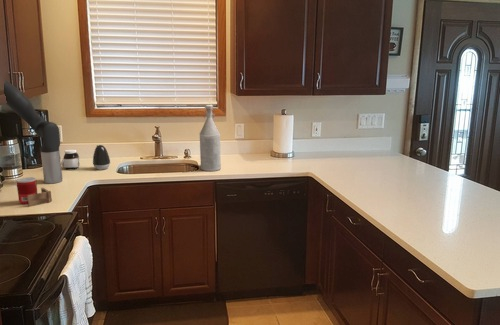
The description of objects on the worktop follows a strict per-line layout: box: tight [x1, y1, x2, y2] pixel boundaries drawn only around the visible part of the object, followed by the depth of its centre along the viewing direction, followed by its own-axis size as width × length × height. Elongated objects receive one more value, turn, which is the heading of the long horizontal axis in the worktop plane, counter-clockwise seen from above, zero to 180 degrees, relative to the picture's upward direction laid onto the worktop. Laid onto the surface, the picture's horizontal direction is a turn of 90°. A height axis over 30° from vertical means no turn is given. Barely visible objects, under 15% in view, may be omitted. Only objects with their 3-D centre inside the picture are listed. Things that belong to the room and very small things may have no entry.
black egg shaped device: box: [92, 144, 111, 171], centre depth 256 cm, size 10×10×15 cm
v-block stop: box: [27, 187, 53, 207], centre depth 193 cm, size 13×7×5 cm, turn 179°
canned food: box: [16, 176, 39, 205], centre depth 192 cm, size 8×8×11 cm
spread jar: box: [60, 149, 81, 170], centre depth 259 cm, size 12×11×12 cm
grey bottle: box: [199, 104, 222, 172], centre depth 254 cm, size 13×17×40 cm
